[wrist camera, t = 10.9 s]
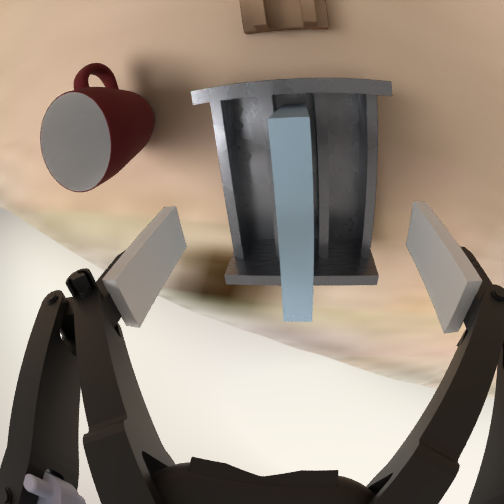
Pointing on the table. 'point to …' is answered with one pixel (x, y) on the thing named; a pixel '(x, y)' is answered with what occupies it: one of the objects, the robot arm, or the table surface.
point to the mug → (93, 130)
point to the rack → (323, 166)
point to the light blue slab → (294, 207)
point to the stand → (283, 15)
